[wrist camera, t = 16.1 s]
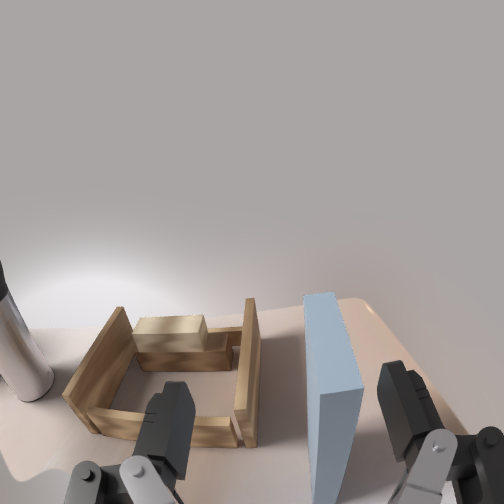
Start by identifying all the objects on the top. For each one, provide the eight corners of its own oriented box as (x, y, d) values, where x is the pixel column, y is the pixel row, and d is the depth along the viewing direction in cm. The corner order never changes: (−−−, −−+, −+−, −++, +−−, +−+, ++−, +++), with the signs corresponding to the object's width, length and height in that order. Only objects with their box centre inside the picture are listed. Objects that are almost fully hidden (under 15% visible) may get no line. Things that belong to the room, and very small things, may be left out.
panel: (312, 507, 22) (320, 394, 13) (307, 439, 30) (303, 295, 22) (335, 504, 21) (364, 387, 13) (326, 436, 30) (333, 291, 21)
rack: (91, 432, 32) (61, 395, 29) (133, 344, 50) (117, 306, 46) (256, 447, 30) (246, 409, 26) (260, 339, 47) (254, 297, 44)
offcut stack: (142, 370, 43) (125, 334, 40) (149, 354, 47) (134, 317, 44) (230, 370, 42) (220, 331, 39) (233, 352, 46) (224, 313, 43)
